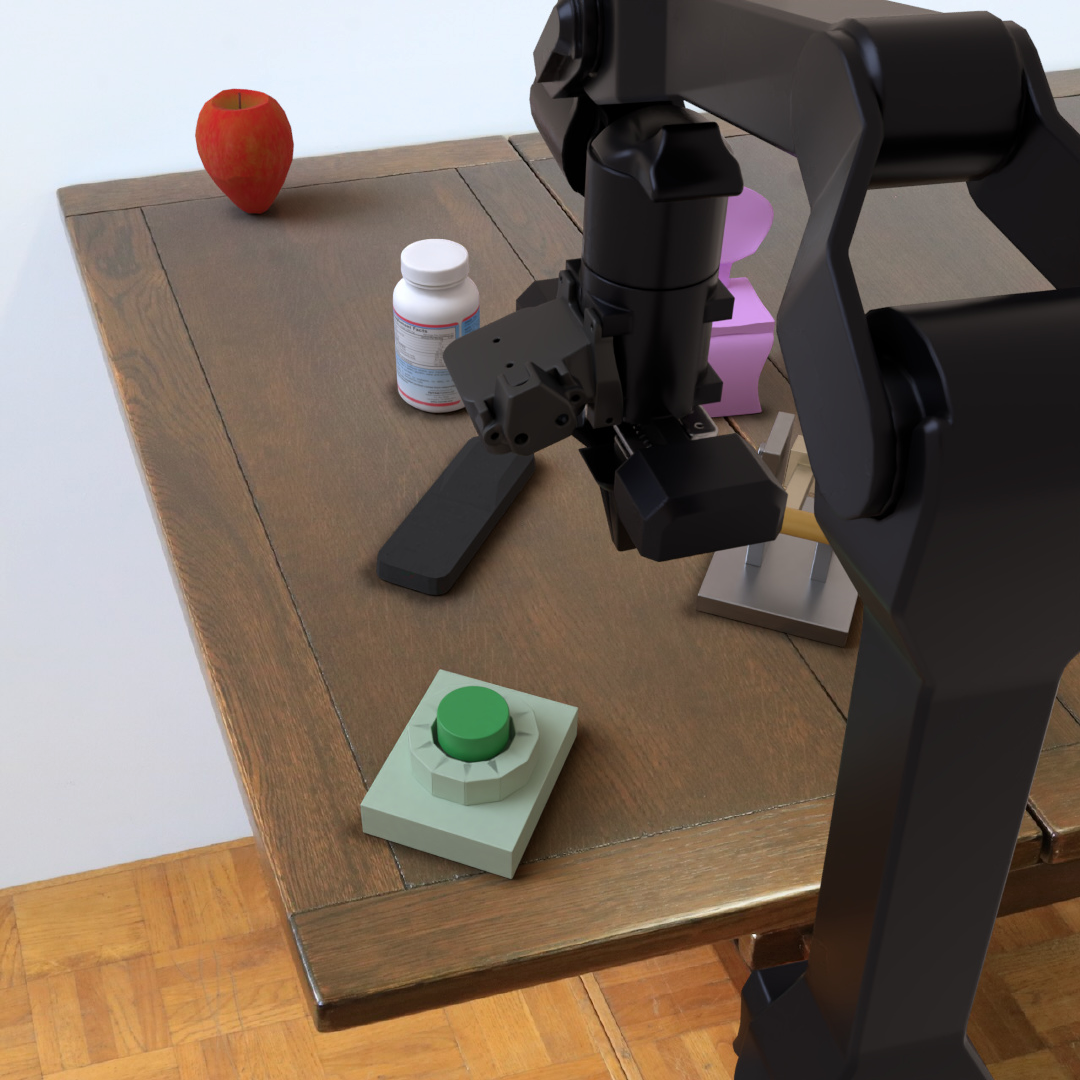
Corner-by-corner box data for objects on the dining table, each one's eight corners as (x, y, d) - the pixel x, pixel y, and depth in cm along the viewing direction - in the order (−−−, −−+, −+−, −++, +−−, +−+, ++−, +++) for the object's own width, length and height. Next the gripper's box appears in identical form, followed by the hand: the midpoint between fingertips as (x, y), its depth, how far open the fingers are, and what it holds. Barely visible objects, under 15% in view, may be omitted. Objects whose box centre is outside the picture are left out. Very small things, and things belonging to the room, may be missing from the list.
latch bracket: (844, 648, 77) (875, 518, 71) (695, 610, 80) (712, 480, 73) (875, 527, 86) (906, 401, 80) (740, 496, 88) (759, 371, 82)
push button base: (512, 879, 64) (513, 828, 62) (362, 832, 66) (357, 780, 64) (576, 735, 72) (580, 683, 69) (440, 696, 74) (438, 645, 71)
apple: (186, 206, 119) (168, 87, 112) (268, 181, 124) (254, 65, 117) (237, 241, 114) (220, 119, 107) (319, 213, 119) (309, 95, 112)
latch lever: (834, 559, 69) (844, 517, 68) (722, 532, 71) (730, 491, 70) (858, 486, 79) (866, 449, 78) (759, 464, 80) (766, 427, 79)
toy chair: (666, 425, 95) (686, 233, 85) (635, 360, 101) (651, 174, 92) (777, 415, 96) (809, 224, 86) (739, 351, 102) (765, 167, 93)
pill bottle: (446, 361, 100) (443, 224, 93) (497, 396, 97) (498, 257, 90) (380, 388, 97) (372, 249, 90) (430, 426, 94) (425, 284, 87)
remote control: (443, 605, 80) (540, 463, 90) (442, 584, 79) (540, 443, 89) (371, 583, 82) (474, 445, 92) (369, 561, 80) (474, 425, 91)
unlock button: (493, 770, 65) (493, 747, 64) (426, 750, 66) (425, 727, 65) (519, 719, 68) (519, 696, 67) (454, 701, 69) (453, 677, 67)
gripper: (407, 181, 59) (419, 461, 69) (529, 410, 46) (521, 717, 56) (640, 156, 62) (619, 429, 72) (820, 365, 49) (763, 665, 59)
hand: (625, 545), depth 65 cm, fingers closed
